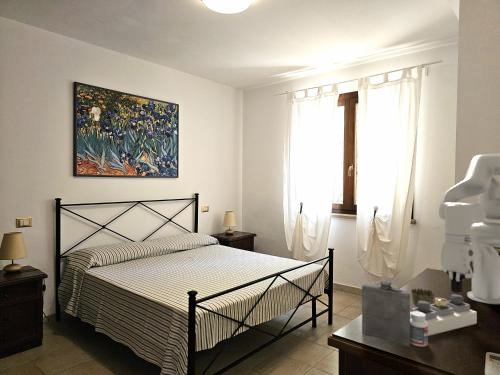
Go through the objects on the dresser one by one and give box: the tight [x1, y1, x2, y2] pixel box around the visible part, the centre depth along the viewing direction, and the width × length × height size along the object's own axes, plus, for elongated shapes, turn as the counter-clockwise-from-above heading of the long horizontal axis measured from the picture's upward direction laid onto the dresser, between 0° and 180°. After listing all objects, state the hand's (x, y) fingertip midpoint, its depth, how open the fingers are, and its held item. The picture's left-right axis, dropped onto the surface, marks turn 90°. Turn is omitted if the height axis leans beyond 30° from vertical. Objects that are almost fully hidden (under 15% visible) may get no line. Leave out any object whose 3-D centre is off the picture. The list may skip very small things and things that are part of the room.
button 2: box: [450, 293, 464, 305], centre depth 116 cm, size 4×4×3 cm
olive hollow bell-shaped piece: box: [410, 287, 435, 308], centre depth 123 cm, size 8×7×8 cm
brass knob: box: [434, 297, 448, 309], centre depth 113 cm, size 4×4×3 cm
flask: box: [361, 279, 411, 347], centre depth 103 cm, size 4×14×18 cm, turn 52°
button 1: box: [418, 301, 430, 313], centre depth 110 cm, size 4×4×3 cm
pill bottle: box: [410, 311, 429, 348], centre depth 101 cm, size 5×5×9 cm
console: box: [410, 299, 478, 337], centre depth 113 cm, size 23×9×6 cm, turn 112°
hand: (456, 291), depth 116 cm, fingers closed
